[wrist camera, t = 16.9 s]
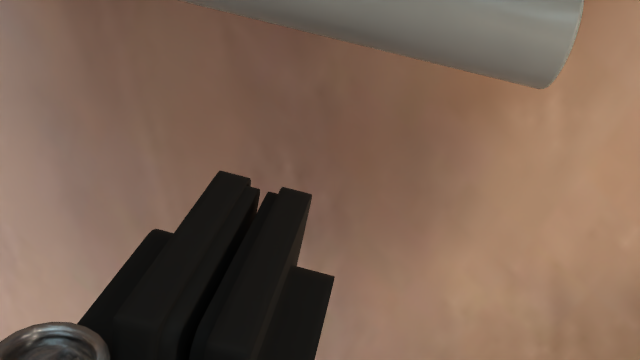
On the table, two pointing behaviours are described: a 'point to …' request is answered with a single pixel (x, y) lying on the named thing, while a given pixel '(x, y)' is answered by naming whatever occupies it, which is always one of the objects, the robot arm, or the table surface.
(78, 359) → the robot arm
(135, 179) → the table surface
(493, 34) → the drawer
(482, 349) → the table surface
